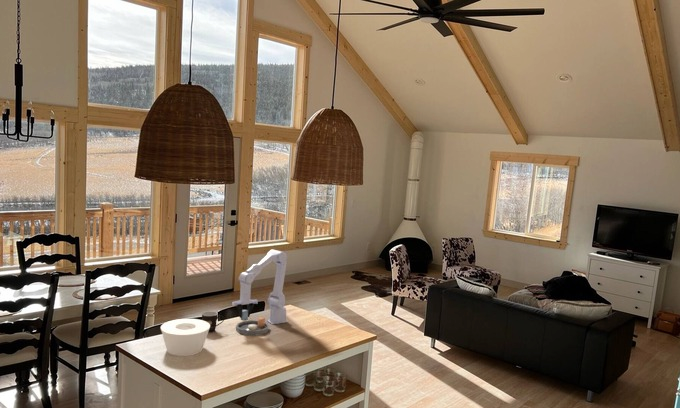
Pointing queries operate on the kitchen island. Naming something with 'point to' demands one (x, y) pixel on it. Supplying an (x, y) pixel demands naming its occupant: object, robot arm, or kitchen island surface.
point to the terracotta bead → (261, 322)
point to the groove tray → (251, 328)
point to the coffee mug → (211, 319)
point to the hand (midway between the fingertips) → (244, 316)
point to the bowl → (185, 336)
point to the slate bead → (244, 315)
